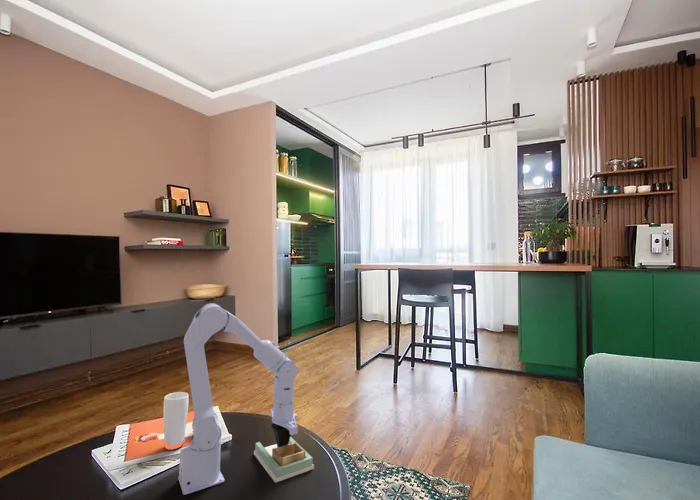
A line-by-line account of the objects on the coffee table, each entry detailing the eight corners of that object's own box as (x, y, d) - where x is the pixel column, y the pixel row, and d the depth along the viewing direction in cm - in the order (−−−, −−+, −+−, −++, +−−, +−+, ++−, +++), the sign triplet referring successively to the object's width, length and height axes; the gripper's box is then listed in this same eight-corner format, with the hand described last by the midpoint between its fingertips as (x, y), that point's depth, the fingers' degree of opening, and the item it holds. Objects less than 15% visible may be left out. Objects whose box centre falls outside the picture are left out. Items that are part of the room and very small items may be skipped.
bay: (275, 482, 86) (275, 470, 86) (253, 454, 99) (254, 443, 99) (313, 468, 92) (314, 457, 92) (288, 443, 105) (289, 433, 105)
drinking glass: (164, 442, 105) (166, 392, 106) (188, 439, 107) (190, 390, 108) (158, 454, 98) (161, 400, 99) (184, 450, 100) (187, 398, 101)
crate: (280, 473, 88) (281, 459, 88) (271, 462, 93) (272, 448, 93) (305, 464, 92) (305, 451, 92) (295, 454, 97) (295, 441, 97)
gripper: (308, 406, 93) (307, 458, 92) (286, 390, 105) (284, 436, 104) (284, 412, 89) (282, 466, 88) (264, 395, 101) (262, 442, 100)
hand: (282, 450), depth 96 cm, fingers closed
